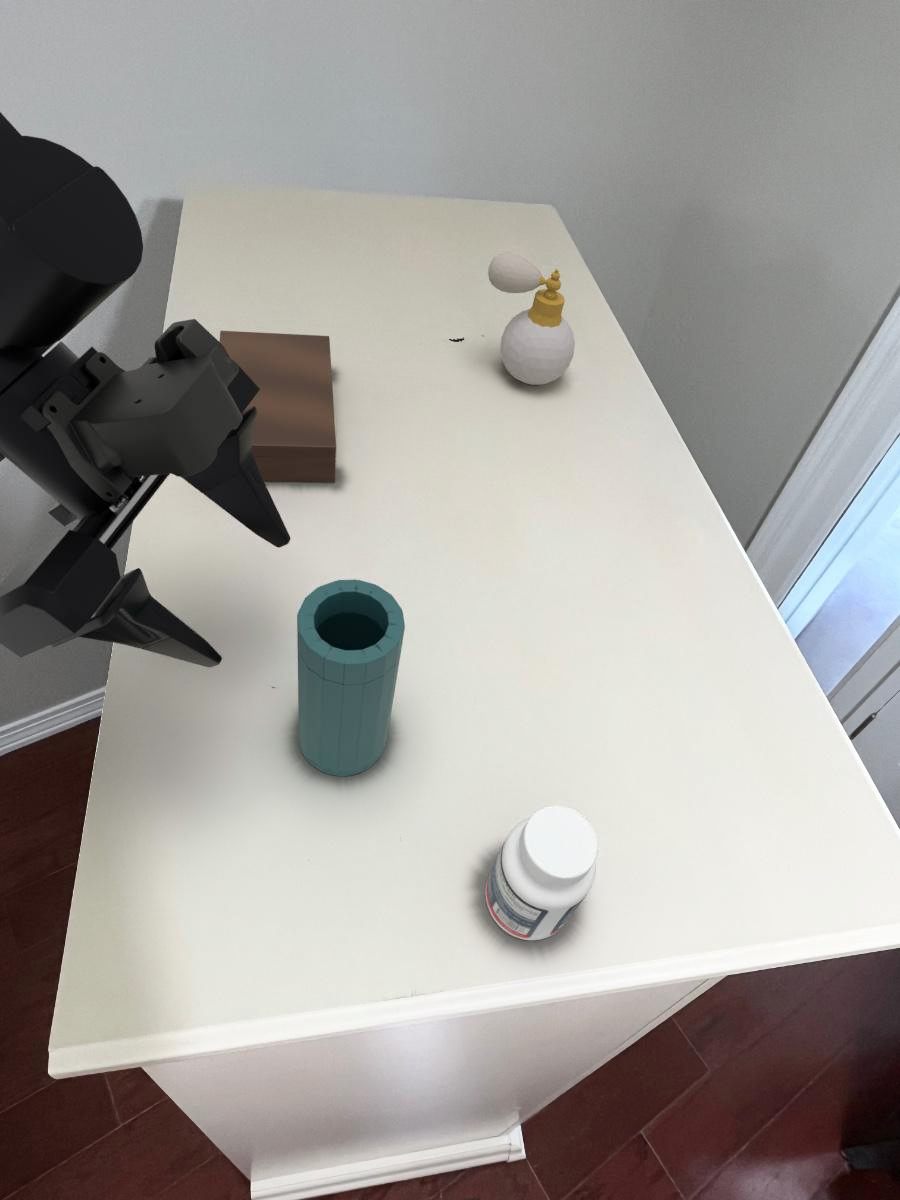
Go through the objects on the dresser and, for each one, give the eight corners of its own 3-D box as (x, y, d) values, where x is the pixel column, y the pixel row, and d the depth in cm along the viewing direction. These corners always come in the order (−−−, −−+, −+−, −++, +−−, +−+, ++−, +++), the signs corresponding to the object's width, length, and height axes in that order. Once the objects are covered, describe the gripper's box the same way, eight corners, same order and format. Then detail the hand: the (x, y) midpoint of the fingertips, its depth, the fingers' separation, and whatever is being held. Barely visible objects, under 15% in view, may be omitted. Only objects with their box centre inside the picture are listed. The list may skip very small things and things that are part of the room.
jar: (286, 762, 51) (281, 646, 41) (316, 690, 55) (318, 568, 45) (371, 786, 51) (387, 676, 41) (396, 713, 55) (416, 595, 45)
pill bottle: (556, 850, 50) (596, 788, 43) (578, 935, 47) (625, 883, 40) (476, 860, 49) (503, 798, 42) (493, 948, 46) (525, 896, 39)
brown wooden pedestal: (334, 482, 68) (336, 447, 65) (215, 481, 67) (210, 444, 63) (328, 371, 78) (329, 335, 75) (223, 367, 76) (220, 330, 73)
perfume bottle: (573, 398, 81) (607, 290, 72) (481, 397, 79) (504, 285, 70) (555, 355, 86) (584, 248, 77) (467, 353, 84) (487, 242, 74)
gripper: (-48, 439, 26) (280, 713, 34) (209, 206, 38) (408, 448, 46) (-158, 538, 32) (138, 747, 40) (91, 313, 44) (282, 508, 52)
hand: (253, 599), depth 44 cm, fingers open, 9 cm apart
